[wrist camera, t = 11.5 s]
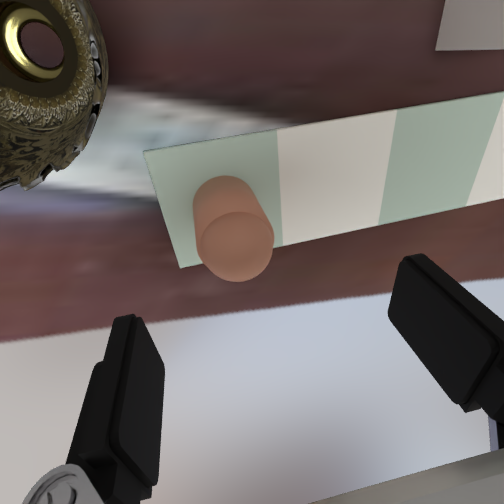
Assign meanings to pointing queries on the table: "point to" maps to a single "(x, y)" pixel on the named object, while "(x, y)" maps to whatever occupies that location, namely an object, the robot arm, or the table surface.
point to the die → (471, 25)
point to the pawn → (231, 229)
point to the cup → (48, 90)
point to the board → (343, 170)
